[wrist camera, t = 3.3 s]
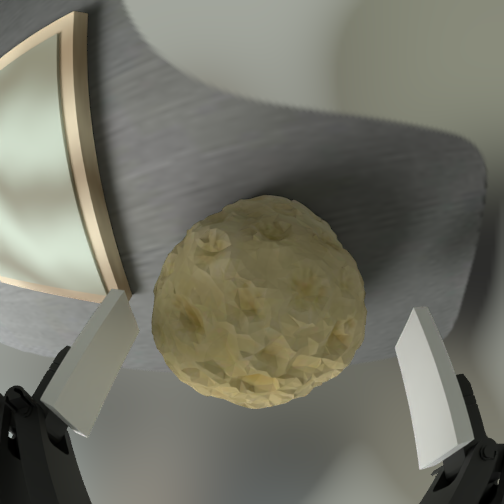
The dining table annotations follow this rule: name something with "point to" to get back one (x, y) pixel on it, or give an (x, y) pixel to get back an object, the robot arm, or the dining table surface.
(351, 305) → the decorative item
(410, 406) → the robot arm
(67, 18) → the board
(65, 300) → the dining table surface
